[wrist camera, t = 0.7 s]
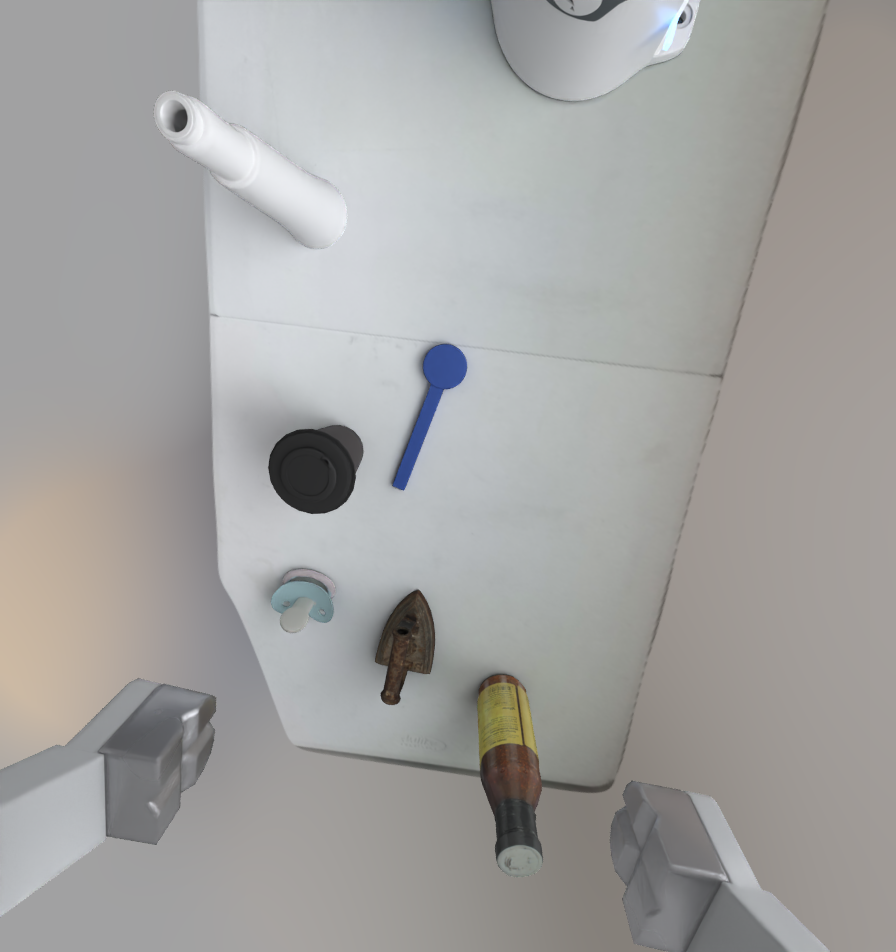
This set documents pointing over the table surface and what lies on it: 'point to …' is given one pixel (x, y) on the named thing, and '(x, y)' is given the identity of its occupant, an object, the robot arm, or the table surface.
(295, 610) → the pacifier
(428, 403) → the spoon
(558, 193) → the table surface
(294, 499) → the coffee cup
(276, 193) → the cosmetic bottle
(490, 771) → the sauce bottle
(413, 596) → the clothes iron
